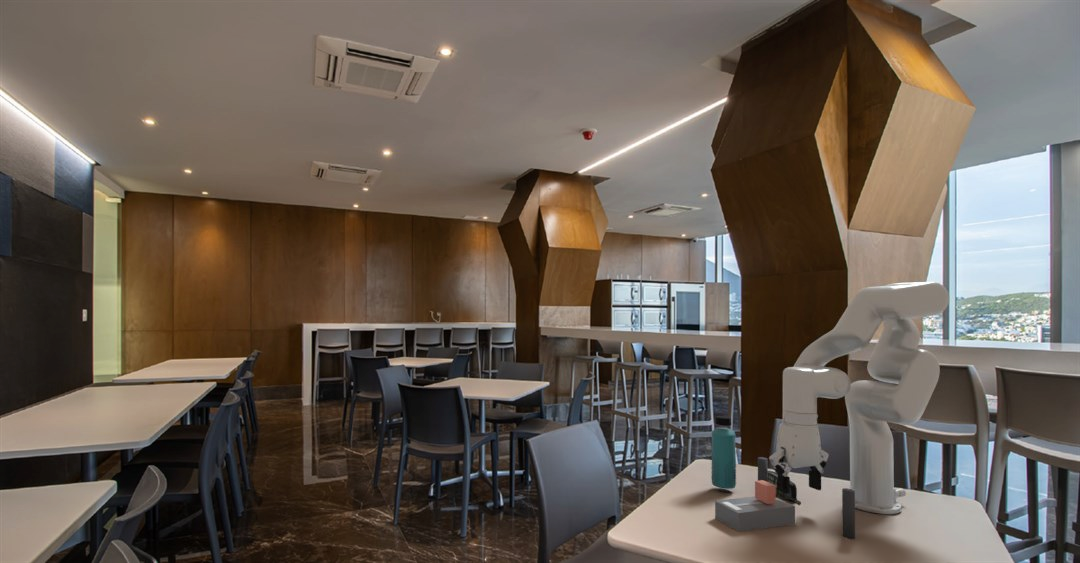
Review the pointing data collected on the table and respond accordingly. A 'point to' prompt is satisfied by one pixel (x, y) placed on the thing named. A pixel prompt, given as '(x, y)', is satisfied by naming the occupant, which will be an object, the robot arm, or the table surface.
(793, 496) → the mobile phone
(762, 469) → the post
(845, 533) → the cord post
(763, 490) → the switch
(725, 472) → the beverage bottle
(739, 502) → the box
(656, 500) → the table surface
